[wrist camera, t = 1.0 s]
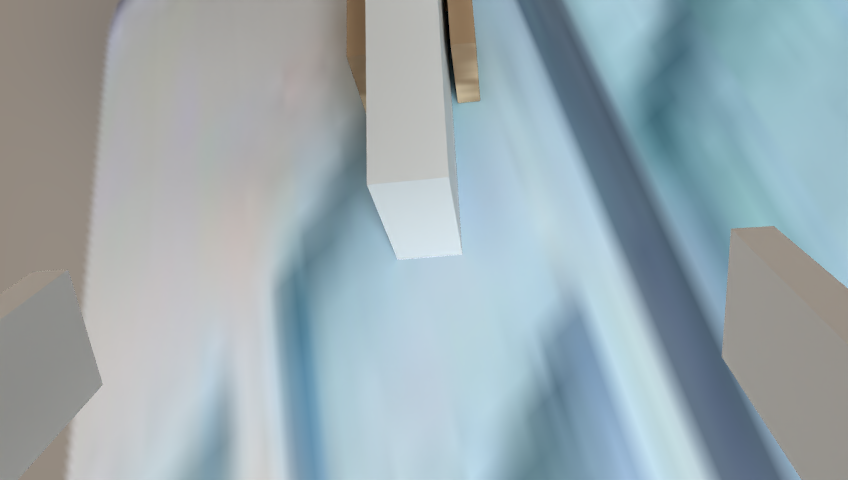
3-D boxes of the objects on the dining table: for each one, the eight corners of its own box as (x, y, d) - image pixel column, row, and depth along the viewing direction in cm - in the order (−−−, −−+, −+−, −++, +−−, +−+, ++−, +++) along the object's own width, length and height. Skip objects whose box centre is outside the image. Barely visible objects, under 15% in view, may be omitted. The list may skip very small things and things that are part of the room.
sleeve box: (470, -3, 50) (465, -70, 44) (480, 100, 46) (475, 42, 41) (364, 9, 51) (346, -55, 45) (365, 112, 47) (346, 56, 42)
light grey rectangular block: (446, 23, 49) (432, -93, 40) (462, 255, 42) (448, 176, 33) (391, 29, 50) (364, -85, 41) (397, 260, 43) (366, 184, 33)
